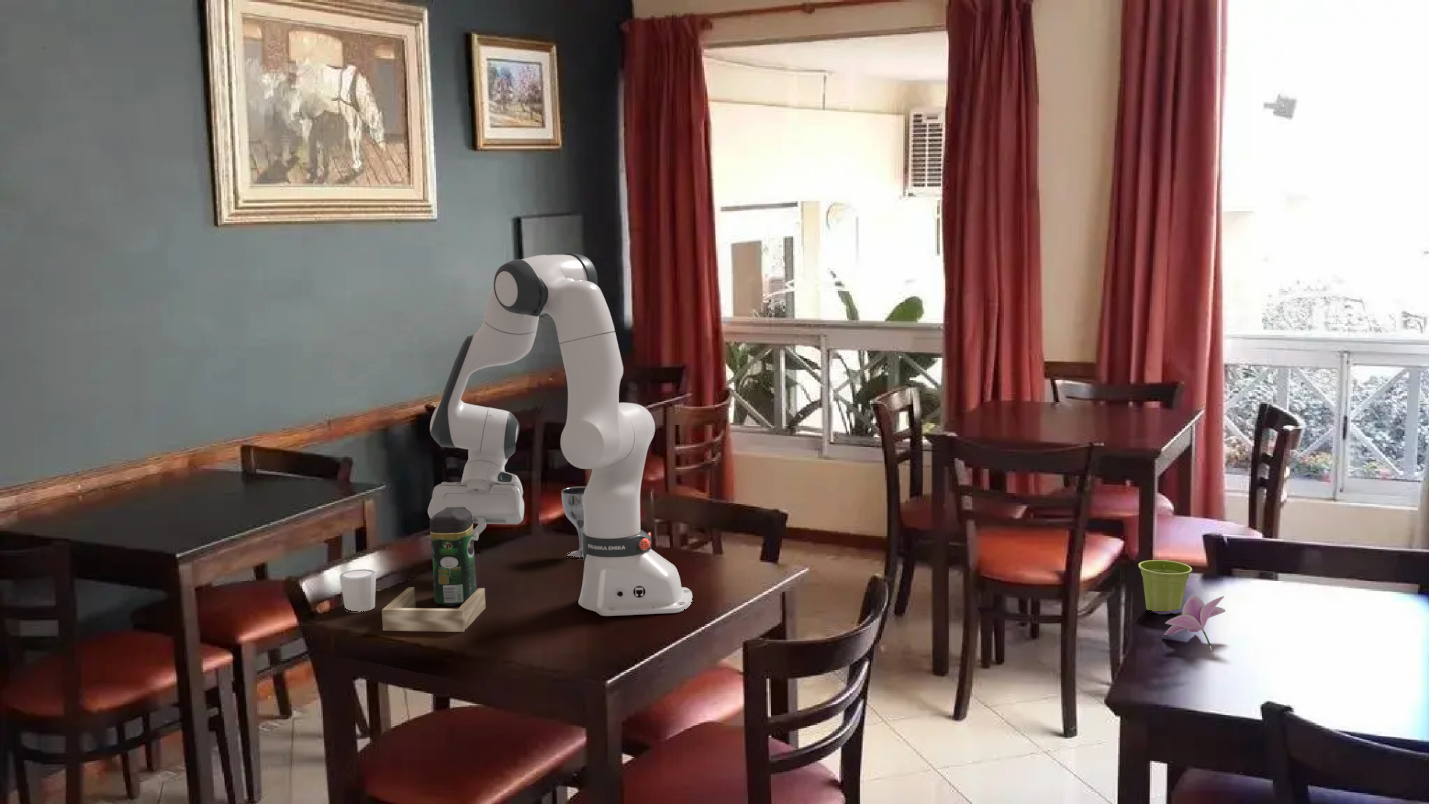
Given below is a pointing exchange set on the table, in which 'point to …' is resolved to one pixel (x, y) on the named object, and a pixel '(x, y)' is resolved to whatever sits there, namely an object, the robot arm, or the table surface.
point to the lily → (1194, 616)
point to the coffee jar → (453, 556)
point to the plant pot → (1164, 584)
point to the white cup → (358, 589)
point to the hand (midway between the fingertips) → (470, 538)
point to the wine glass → (575, 511)
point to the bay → (430, 614)
